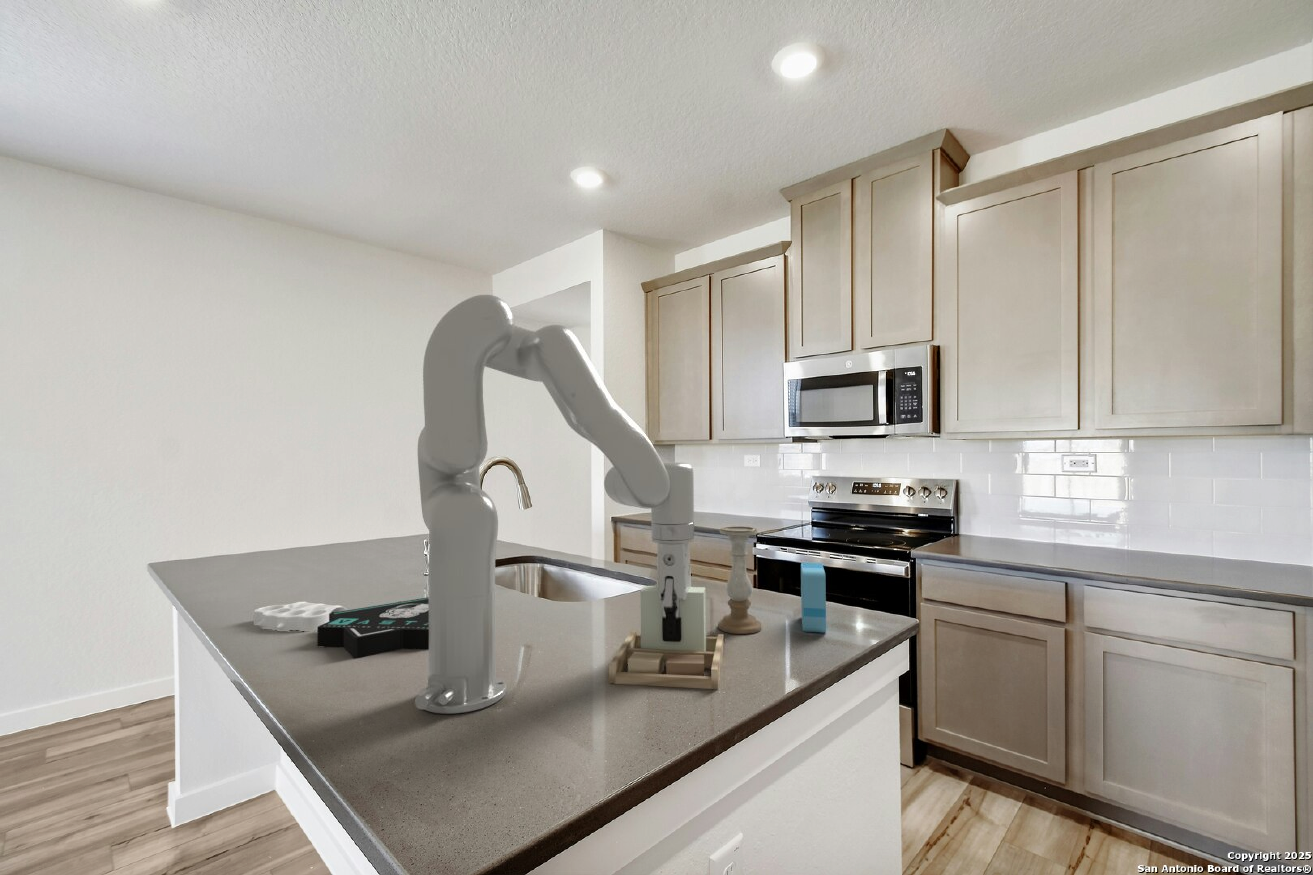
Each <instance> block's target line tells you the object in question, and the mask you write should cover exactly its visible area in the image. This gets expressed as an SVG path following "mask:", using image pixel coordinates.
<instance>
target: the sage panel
mask: <svg viewBox="0 0 1313 875" xmlns="http://www.w3.org/2000/svg"><path fill="white" fill-rule="evenodd" d="M661 595H663V593H661ZM673 600H677V596H673ZM706 600H707V599H706V587H704V586H703V587H700V586H699V587H698V586H691V587H690V589H689V591H688V598H687V600H686V601H685V602H683V601H682V599H680V611H679V618H681V641H680V642H669V641H663V636H662V618H663V601H661V600H660V599H659V598H658V585H644V586H643V587H642V589H640V634H641V648H642V649H665V650H687V651H706V637H707V633H706V632H707V626H706V625H707V624H706V623H707V617H706V614H707V611H706V604H707V603H706V602H707V601H706ZM673 605H675V607H676V604H674V603H673Z"/></svg>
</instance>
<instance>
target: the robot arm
mask: <svg viewBox="0 0 1313 875" xmlns="http://www.w3.org/2000/svg"><path fill="white" fill-rule="evenodd" d="M485 368H489V369H493V370H494V371H498V372H502V373H504V374H508V375H511V376H513V377H514V376H515V377H517V378H521V379H524V380H529V381H532V382H540V383H542V384H543V386H544V387H545V388H546V391H547V392H548V393H549V396H550V397H551V398H552V399H553V401H554V403H555V405H556V406H557V408H558V410H559V412H560V413H561V416H562V417H563V418H564V420H565V422H566V424H567V425H568V426H569V427H570V428H571V429H572V430H573V431H574V432H575V433H577V435H579V436H581V438H583V439H585V440H587V441H589V442H590V443H592V444H593V445H594V446H595V447H596V448H597V449H598V450H600V452H602V453H603V455H604V456H605V458H607V460H609V462H610V463H611V465H612V467H611V468H609V470H608V471H607V473H606V474H605V476H604V481H603V486H604V490H605V493H606V495H607V496H608V497H609V498H610V499H611V500H612V501H614V502H615V503H617V504H620V505H623V506H628V507H634V508H640V509H649V510H650V509H651V510H650V512H651V513H650V514H651V516H650V517H651V520H650V521H651V525H650V526H651V542H652V543H655V544H656V543H657V554H656V556H657V560H656V562H657V563H656V564H657V568H656V569H657V571H656V572H657V573H656V574H657V575H656V576H657V580H656V581H657V586H658V598H659V599H660V600H661V601H663V618H662V636H663V641H669V642H680V641H681V618H679V611H680V599H682V601H683V602H685V601H686V600H687V598H688V591H689V589H690V587H692V576H691V574H692V573H691V550H690V543H693V542H695V510H694V508H695V503H694V500H695V498H694V496H695V494H694V482H695V481H694V470H693V466H692V465H691V464H689V463H687V462H663V461H662V460H663V459H662V458H661V457H660V455H659V454H658V452H657V450H656V448H655V447H654V445H653V444H652V442H651V440H650V438H649V437H648V435H646V434H645V432H644V431H643V429H641V428H640V427H639V425H638V424H637V423H636V422H635V421H634V420H633V419H632V418H631V417H630V416H629V415H628V414H627V412H626V411H624V409H623V408H621V407H620V405H619V404H617V402H615V400H614V398H613V397H612V395H611V394H610V392H609V391H608V388H607V387H606V386H605V384H604V382H603V380H602V378H601V377H600V375H599V374H598V372H597V371H598V370H596V368H595V366H594V365H593V362H592V361H591V359H590V358H589V356H588V354H587V352H586V351H585V349H584V347H583V345H582V344H581V342H580V340H579V339H578V337H577V336H576V335H575V333H574V332H573V330H571V329H570V328H568V327H566V326H565V325H561V324H550V325H547V326H543V327H541V328H539V329H537V330H535V331H533V330H530V329H526V328H523V327H520V326H517V325H515V317H514V313H513V312H512V310H511V308H510V306H509V305H508V303H507V302H505V300H503V299H502V298H500V297H498V296H496V295H493V294H478V295H474V296H471V297H469V298H467V299H464V300H463V301H461V302H459V303H457V304H456V305H455V306H453V307H452V308H450V309H449V310H448V311H447V312H446V313H445V314H444V315H443V316H442V317H441V319H440V320H439V321H438V322H437V324H436V325H435V327H434V329H433V331H432V333H431V334H430V337H429V339H428V342H427V345H426V348H425V352H424V357H423V366H422V377H423V378H422V385H423V387H422V388H423V409H424V410H423V412H424V413H423V414H424V426H423V428H422V429H421V431H420V434H419V436H418V441H417V464H418V465H417V466H418V467H417V468H418V477H419V478H418V479H419V480H418V481H419V490H420V491H419V493H420V504H421V505H420V506H421V513H422V518H423V521H424V524H425V526H426V527H427V528H426V529H428V531H429V541H428V546H429V547H428V568H427V569H428V570H427V571H428V573H427V574H428V575H427V577H428V578H427V582H428V584H427V589H428V590H427V594H428V597H429V650H428V676H427V684H425V685H424V686H423V687H422V688H421V689H420V690H419V691H418V693H417V696H416V697H415V698H414V705H415V707H416V709H418V710H424V711H426V712H430V713H435V714H443V715H445V714H447V715H449V714H452V715H453V714H462V713H469V712H474V711H478V710H481V709H484V708H487V707H489V706H491V705H493V704H496V703H497V702H498V701H500V700H501V699H502V698H503V697H504V696H505V695H506V694H507V682H506V681H505V680H504V679H503V678H501V676H498V675H496V665H497V664H496V662H497V660H496V656H497V655H496V555H497V554H496V553H497V552H496V551H497V542H498V532H499V519H498V518H499V517H498V512H497V511H498V510H497V508H496V506H495V503H494V501H493V499H492V498H491V496H489V494H488V493H487V492H486V491H485V490H483V489H482V488H481V476H480V475H481V474H480V473H481V472H480V466H481V465H482V464H483V462H484V460H485V459H486V456H487V453H488V444H489V443H488V436H487V428H486V419H485V418H486V417H485V406H484V386H483V384H484V372H485ZM661 593H663V595H661ZM673 596H677V600H673ZM673 603H674V604H676V607H675V605H673Z"/></svg>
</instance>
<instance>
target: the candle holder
mask: <svg viewBox="0 0 1313 875" xmlns="http://www.w3.org/2000/svg"><path fill="white" fill-rule="evenodd" d="M719 533H720V534H721V535H725V536H727V537H728V538H727V540H728V541H729V543H730V544H731V549H730V552H729V553H728V554H729V556H731V570H730V571H731V572H730V575H729V577H728V580H727V583H726V585H725V591H726V594H727V596H728V597H729V600H728V601H727V605H728V606H729V609H730V613H727V614H725V615H724V616H722V619H720V620H719V621H718V622H717V627H718V629H719V630H720V631H722V632H725V633H729V634H735V635H736V634H737V635H747V634H754V633H758V632H759V631H761V630H762V623H761V621H759V619H757V618H756V616H754V615H753V614H749V609H750V606H751V605H752V601H751V600H749V598H750V597H751V596H752V593H753V589H754V588H753V585H752V582H751V580H750V578H749V575H748V572H747V564H746V560H747V558H746V557H747V556H749V553H748V551H747V550H746V549H747V548H746V545H747V543H748V542H749V540H750V538H749V536H754V535H757V534H758V529H757V528H756V527H753V526H741V525H738V526H736V525H735V526H734V525H733V526H732V525H731V526H724V527H720V529H719Z"/></svg>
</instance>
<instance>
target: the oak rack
mask: <svg viewBox="0 0 1313 875" xmlns="http://www.w3.org/2000/svg"><path fill="white" fill-rule="evenodd" d="M724 636H725V635H724V634H722V633H721V634H720V633H719V634H717V636H706V651H687V650H665V649H642V648H641V633H638V631H637V630H631V631H630V632H629V634H628V635H627V637H626V638H625V640H624V641H623V643H622V645H620V648H619V649H618V651H616V654H615V655H614V656H613V658H612V659H611V661H610V662H609V664H608V668H609V669H608V671H609V672H608V682H609V683H608V684H611V683H614V685H633V686H646V687H647V686H649V687H669V688H683V689H684V688H687V689H705V690H706V689H708V690H719V685H720V678H721V672H722V665H723V658H724V653H725V651H724V650H725V646H724V645H725V642H724V641H725V640H724V638H725V637H724ZM634 652H644V653H660V654H663V667H666V662H667V655H668V654H673V655H704V669H709V670H711V671H710V672H711V675H709V676H705V675H704V676H689V675H670V674H666V673H662V674H650V673H631V672H628V671H624V670H625V668H626V666H627V665H626V664H628V659H629V658H630V657H631V655H632V654H633V653H634Z"/></svg>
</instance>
